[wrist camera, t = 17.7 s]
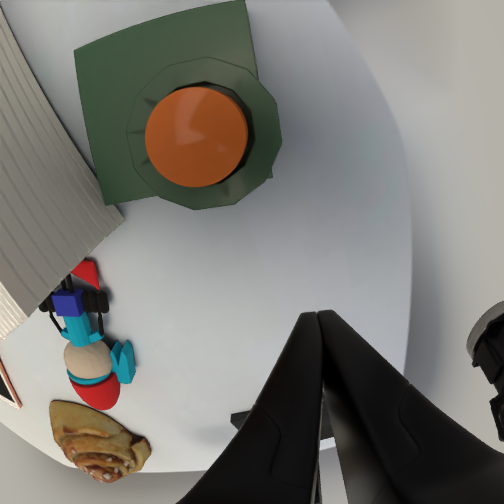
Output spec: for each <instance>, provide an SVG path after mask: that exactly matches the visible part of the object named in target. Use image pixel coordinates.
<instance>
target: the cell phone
mask: <svg viewBox="0 0 504 504" xmlns="http://www.w3.org/2000/svg"><path fill="white" fill-rule="evenodd" d="M0 399H2V400H3V401H5V402H7V403H8V404H10V405H12V406H13V407H15V408H17V409H19V410H20V409H21V407H22V405H21V404H20V402H19V400H18V398H17V396H16V394H15V392H14V390H13V388H12V386H11V384H10V382H9V380H8V378H7V376H6V373H5V371H4V369H3V367H2V364H1V362H0Z"/></svg>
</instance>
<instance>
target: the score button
mask: <svg viewBox="0 0 504 504" xmlns="http://www.w3.org/2000/svg"><path fill="white" fill-rule="evenodd" d="M247 141H248V125H247V121H246V118H245V115H244V113H243V112H242V110H241V108H240V107H239V106H238V104H237V103H236V102H235V101H234V100H233V99H231V98H230V97H229V96H227V95H225V94H224V93H221V92H219V91H216V90H212V89H208V88H203V87H189V88H184V89H180V90H177V91H175V92H173V93H171V94H170V95H168V96H166V97H165V98H164V99H163V100H161V101H160V102H159V103H158V105H157V106H156V107H155V108H154V110H153V111H152V113H151V115H150V117H149V119H148V122H147V126H146V131H145V145H146V150H147V153H148V156H149V158H150V160H151V162H152V164H153V166H154V167H155V168H156V169H157V171H158V172H159V173H160V174H161V175H163V176H164V177H165V178H166V179H168V180H170V181H171V182H174V183H176V184H178V185H182V186H186V187H204V186H208V185H212V184H214V183H217V182H219V181H221V180H222V179H224V178H225V177H227V176H228V175H229V174H230V173H231V172H232V171H233V170H234V169H235V167H236V166H237V165H238V163H239V162H240V160H241V157H242V155H243V153H244V151H245V148H246V145H247Z"/></svg>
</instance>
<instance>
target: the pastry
mask: <svg viewBox="0 0 504 504" xmlns="http://www.w3.org/2000/svg"><path fill="white" fill-rule="evenodd" d="M49 413H50V421H51V426H52V431H53V436H54V440H55V442H56V443H57V444H58V445H59V447H61V450H62V451H63V452H64V454H65V456H66V458H67V459H68V460H69V461H71V462H73V463H75V465H76V466H77V467H78V468H79V469H81V470H83V471H84V472H86V473H87V474H88V475H90V476H91V477H93V478H94V479H95V480H97V481H99V482H102V483H111V482H114V481H116V480H118V479H120V478H123V477H125V476H127V474H130V473H133V472H137V471H140V470H141V469H142V467H143V466H144V463H145V461H146V460H147V459H148V457H149V456H150V455H151V448H150V445H149V444H148V441H147V440H146V439H145V438H139V437H137V436H135V435H133V434H131V433H130V432H128V431H127V430H126V429H125V428H124V427H123V426H121V425H119V424H118V423H117V422H115V421H114V420H112V419H111V418H109V417H108V416H106V415H104V414H102V413H100V412H98V411H95V410H93V409H91V408H88V407H85V406H82V405H79V404H75V403H69V402H62V401H53V402H51V403H50V406H49Z"/></svg>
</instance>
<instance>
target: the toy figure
mask: <svg viewBox="0 0 504 504" xmlns="http://www.w3.org/2000/svg"><path fill="white" fill-rule="evenodd" d="M71 273H72V274H74V275H76V276H78V277H79V278H81V279H83V280H85V281H87V282H88V283H90V284H92V285H93V286H95V287H96V288H97V289H98V290H100V288H99V282H98V276H97V271H96V267H95V264H94V262H93V261H85V260H82V261H81V262H80V263H79V264H78V265H77V266H76V267H75V268H74V269H73V270H72V271H71ZM66 278H67V282H68V287H69V289H67V287H66V283H65V279H63V280H62V281H61V285H62V289H59V290H58V291H57V292H53V291H52V292H51V293H50V294H49V295H48V296H47V297H46V299H45V300H44V301H43V302H42V303H41V304H40V305H38V307H39V309H40V311H42V312H47V311H49V313H50V318H51V320H52V321H53V323H54V324H55V326H56V327H57V329H58V330H59V332H60V333H61V336H62V337H64V338H66V339H68V340H70V342H69V343H68V344H67V346H66V348H65V350H64V361H65V364H66V366H67V373H68V375H69V379H70V382H71V384H72V386H73V388H74V389H75V391H76V393H77V394H78V395H79V396H80V397H81V398H82V399H83V401H85V402H86V403H87V404H88V405H90V406H91V407H93V408H95V409H98V410H108V409H111V408H112V407H113V406H114V405H115V404H116V402H117V400H118V398H119V394H120V383H124V384H129V383H131V382H132V380H133V377H134V375H135V373H136V369H135V363H134V356H133V348H132V345H131V344H130V343H129V341H128V340H127V342H126V343H125V345H124V347H123V349H122V348H121V345H120V343H119V341H118V340H117V342H116V344H115V345H114V347H113V349H112V350H111V351H110V349H109V348H108V346H107V345H106V344H105V343H104V342H103V341H101V339H102V338H103V337H104V335H105V334H104V329H103V319H102V315H101V313H107V312H108V311H109V304H108V298H107V294H106V293H105V292H103V291H100V292H98V294H97V293H96V292H95V291H91V292H88V291H84V292H82V289H74V288H73V284H72V280H71V276H70V273H69V274H68V275H67V276H66ZM52 312H56V314H57V316H63V318H64V321H65V324H66V327H65V328H64V329H63V330H62V329H61V327H60V326H59V324H58V322H57V321H56V319H55V318H54V316H53V313H52ZM91 312H94V313H96V312H98V315H99V316H98V325H99V329H98V330H95V331H93V332H92V330H91V326H90V323H89V319H88V316H87V313H91Z"/></svg>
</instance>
